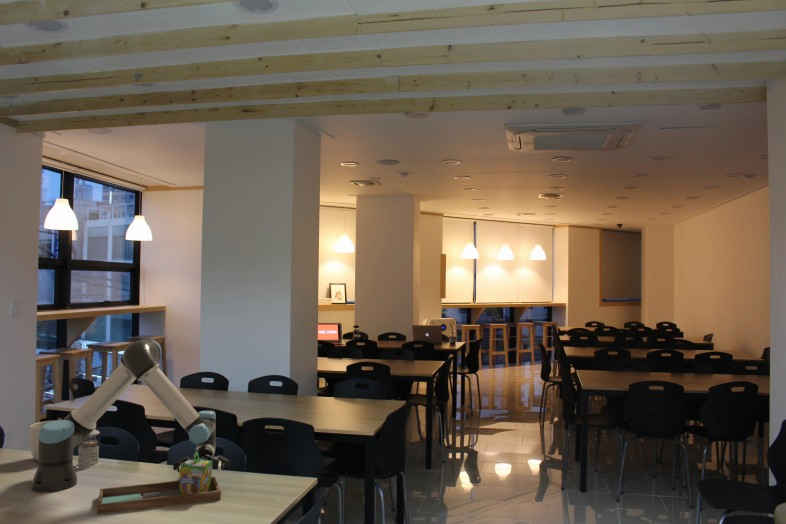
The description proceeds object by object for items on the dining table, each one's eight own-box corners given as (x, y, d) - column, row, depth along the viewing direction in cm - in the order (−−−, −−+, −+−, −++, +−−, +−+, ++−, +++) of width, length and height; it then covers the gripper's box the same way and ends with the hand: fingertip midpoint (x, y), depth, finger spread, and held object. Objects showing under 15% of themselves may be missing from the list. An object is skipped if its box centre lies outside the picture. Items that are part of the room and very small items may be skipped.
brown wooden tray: (99, 497, 216) (100, 488, 217) (214, 484, 232) (214, 476, 232) (96, 514, 200) (97, 505, 200) (220, 499, 216) (220, 490, 216)
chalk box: (202, 499, 215) (206, 457, 216) (177, 497, 216) (181, 455, 216) (211, 491, 224) (215, 451, 225) (187, 488, 225) (191, 448, 226)
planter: (52, 452, 276) (54, 418, 276) (81, 456, 270) (82, 421, 271) (18, 462, 260) (20, 426, 261) (48, 466, 254) (49, 429, 255)
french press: (71, 469, 250) (74, 408, 251) (80, 461, 261) (82, 403, 263) (97, 468, 252) (99, 408, 253) (104, 460, 263) (106, 403, 264)
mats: (143, 494, 220) (143, 492, 220) (180, 490, 225) (180, 488, 225) (143, 506, 207) (143, 505, 207) (183, 502, 213) (183, 500, 213)
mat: (102, 498, 215) (102, 497, 215) (140, 494, 220) (140, 493, 220) (100, 511, 202) (100, 510, 202) (140, 507, 207) (140, 505, 207)
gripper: (235, 463, 243) (234, 479, 222) (170, 466, 237) (163, 483, 217) (236, 444, 243) (235, 458, 223) (171, 447, 238) (164, 462, 217)
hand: (199, 471), depth 220 cm, fingers open, 13 cm apart
